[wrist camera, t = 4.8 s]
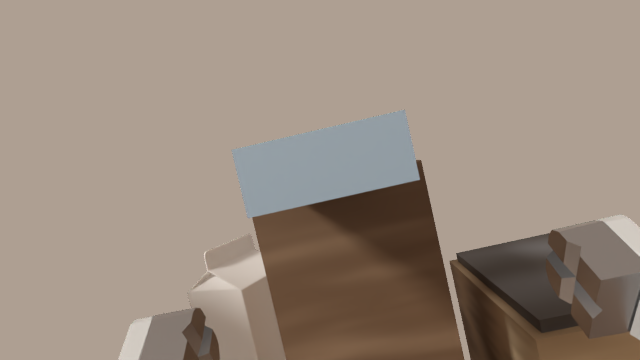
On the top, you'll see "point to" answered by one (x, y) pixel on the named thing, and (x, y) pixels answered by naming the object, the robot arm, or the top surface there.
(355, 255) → the stand
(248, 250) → the milk
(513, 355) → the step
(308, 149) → the slat
